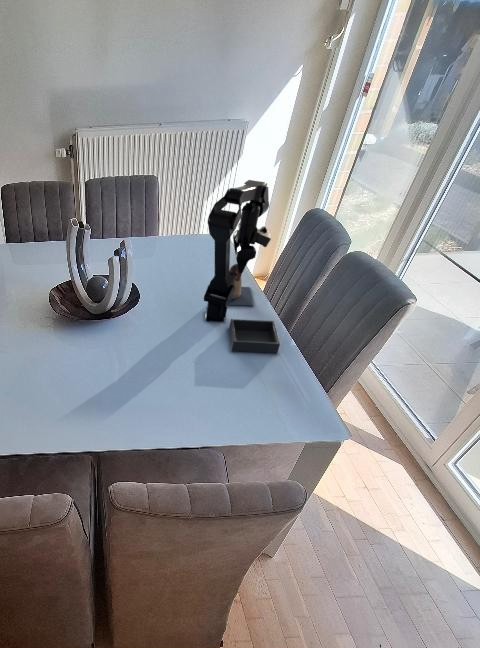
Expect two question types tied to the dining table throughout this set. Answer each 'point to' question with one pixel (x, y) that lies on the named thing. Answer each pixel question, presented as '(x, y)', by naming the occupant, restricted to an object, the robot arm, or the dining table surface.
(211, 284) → the robot arm
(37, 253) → the dining table surface
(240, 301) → the mat
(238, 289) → the figurine
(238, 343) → the bin
